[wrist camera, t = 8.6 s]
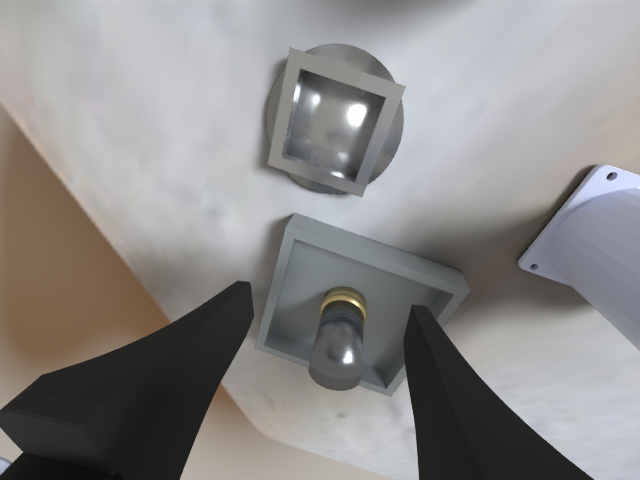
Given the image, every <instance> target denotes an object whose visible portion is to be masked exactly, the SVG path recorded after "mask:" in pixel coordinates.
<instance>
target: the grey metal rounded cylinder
mask: <svg viewBox="0 0 640 480" xmlns="http://www.w3.org/2000/svg"><path fill="white" fill-rule="evenodd" d="M319 315H320V322H319V326H318V330H317V334H316V338H315V342H314V347H313V351H312V355H311V359H310V363H309V368H308V370H309V374H310V376H311V378H312V379H313V380H314V381H315V382H316V383H318V384H319V385H321V386H323V387H325V388H327V389H331V390H337V391H344V390H349V389H352V388H354V387H356V386H357V385H358V384H359V383H360V381H361V376H362V354H363V332H364V325H365V324H366V319H367V302H366V299H365V297H364V296H363V295H362V294H361V293H360V292H359V291H357V290H356V289H353V288H351V287H346V286H339V287H334V288H332V289H330V290H329V291H327V292H326V293H325V295H324V297H323V300H322V304H321V308H320V313H319Z"/></svg>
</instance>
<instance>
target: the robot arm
mask: <svg viewBox="0 0 640 480" xmlns="http://www.w3.org/2000/svg"><path fill="white" fill-rule="evenodd" d="M610 173H612V176H611V177H610V178H608V179H607V175H608V174H610ZM532 264H535V266H533V267H530V266H531V265H532ZM518 266H519V267H520V268H521V269H523V270H525V271H528V272H531V273H534V274H537V275H540V276H543V277H545V278H548V279H551V280H554V281H557V282H560V283H563V284H566V285H569V286H571V287H573V288H574V289H575V290H576V291H577V292H578V293H579V294H580V295H582V296H583V297H584V298H585V299H586V300H587V301H588V302H589V303H590V304H591V305H592V306H593V307H594V308H595V309H596V310H597V311H598V312H599V313H600V314H602V315H603V316H604V317H605V318H606V319H607V320H608V321H609V322H610V323H611V324H612V325H613V326H614V327H615V328H616V329H617V330H618V331H619V332H621V333H622V334H623V335H624V336H625V337H626V338H627V339H628V340H629V341H630V342H631V343H632V344H633V345H634V346H635V347H636V348H637V349H638V350H639V351H640V175H637V174H634V173H631V172H628V171H625V170H622V169H619V168H616V167H613V166H610V165H606V164H601V165H598V166H596V167H594V168H593V169H592V170H591V171H590V173H589V174H588V175H587V176H586V178H585V179H584V180H583V181H582V183H581V184H580V185H579V186H578V188H577V189H576V190H575V191H574V192H573V194H572V195H571V196H570V197H569V199H568V200H567V201H566V202H565V204H564V205H563V206H562V207H561V209H560V210H559V211H558V212H557V213H556V215H555V216H554V217H553V218H552V220H551V221H550V222H549V223H548V225H547V226H546V227H545V228H544V230H543V231H542V232H541V233H540V234H539V236H538V237H537V238H536V239H535V241H534V242H533V243H532V244H531V246H530V247H529V248H528V249H527V251H526V252H525V253H524V254H523V255H522V257H521V258H520V259H519V261H518ZM253 317H254V311H253V302H252V293H251V285H250V282H244V281H237V282H235V283H233V284H232V285H230V286H229V287H228V288H226V289H225V290H223V291H222V292H220V293H219V294H217V295H216V296H214V297H213V298H211V299H210V300H208V301H207V302H205V303H204V304H202V305H201V306H199V307H198V308H196V309H195V310H193V311H191V312H190V313H188V314H186V315H185V316H183V317H182V318H180V319H178V320H177V321H175V322H173V323H171V324H169V325H168V326H166V327H164V328H162V329H160V330H158V331H156V332H154V333H152V334H150V335H148V336H146V337H144V338H141V339H139V340H137V341H135V342H132V343H130V344H128V345H126V346H124V347H121V348H119V349H116V350H114V351H111V352H109V353H106V354H104V355H101V356H98V357H96V358H93V359H91V360H87V361H85V362H82V363H79V364H75V365H72V366H69V367H66V368H63V369H60V370H57V371H53V372H50V373H47V374H43V375H42V376H40V377H39V378H38V379H37V380H36V381H34V382H33V383H32V384H31V385H30V386H28V387H27V388H26V389H25V390H24V391H22V392H21V393H20V394H19V395H18V396H17V397H15V398H14V399H13V400H12V401H10V402H9V403H8V404H7V405H6V406H4V407H3V408H2V409H1V410H0V427H1V428H2V430H3V431H4V432H5V433H6V434H7V435H8V436H9V437H10V439H11V440H12V441H13V442H14V443H15V444H16V445H17V446H18V447H19V448H20V449H21V450H22V451H23V453H22V454H21V455H20V456H19V457H18V458H17V459H16V460H15V461H14V462H13V463H12V462H11V461H9V460H7V459H5V458H3V457H0V480H180V477H181V474H182V472H183V469H184V466H185V464H186V461H187V458H188V456H189V454H190V451H191V448H192V446H193V443H194V441H195V438H196V436H197V433H198V431H199V429H200V426H201V424H202V422H203V419H204V416H205V414H206V412H207V410H208V407H209V405H210V403H211V401H212V398H213V396H214V394H215V392H216V390H217V388H218V386H219V384H220V382H221V380H222V378H223V376H224V375H225V373H226V371H227V369H228V368H229V366H230V364H231V362H232V360H233V359H234V357H235V355H236V353H237V352H238V350H239V348H240V346H241V344H242V343H243V341H244V339H245V337H246V335H247V333H248V330H249V328H250V325H251V323H252V320H253ZM403 341H404V361H405V368H406V374H407V380H408V386H409V392H410V397H411V403H412V409H413V415H414V422H415V429H416V441H417V454H418V468H419V480H594V479H593V478H591V477H590V476H589V475H587V474H586V473H585V472H584V471H582V470H581V469H580V468H578V467H577V466H576V465H575V464H573V463H572V462H571V461H569V460H568V459H567V458H566V457H564V456H563V455H562V454H561V453H560V452H558V451H557V450H556V449H555V448H554V447H553V446H551V445H550V444H549V443H548V442H547V441H545V440H544V439H543V438H542V437H541V436H540V435H538V434H537V433H536V432H535V431H534V430H533V429H532V428H531V427H529V426H528V425H527V424H526V423H525V422H524V421H523V420H522V419H521V418H520V417H519V416H518V415H517V414H515V413H514V412H513V411H512V410H511V409H510V408H509V407H508V406H507V405H506V404H505V403H504V402H503V401H502V400H501V399H500V398H499V397H498V396H497V395H496V394H495V393H494V392H493V391H492V390H491V389H490V388H489V386H488V385H487V384H486V383H485V382H484V381H483V380H482V379H481V378H480V377H479V376H478V374H477V373H476V372H475V371H474V370H473V369H472V367H471V366H470V365H469V364H468V362H467V361H466V360H465V359H464V358H463V356H462V355H461V354H460V352H459V351H458V350H457V348H456V347H455V346H454V344H453V343H452V342H451V340H450V339H449V338H448V336H447V335H446V333H445V332H444V331H443V329H442V328H441V326H440V325H439V323H438V322H437V320H436V319H435V317H434V316H433V314H432V313H431V311H430V310H429V308H428V307H427V306H421V305H413V304H412V306H411V310H410V314H409V318H408V322H407V326H406V330H405V334H404V339H403Z"/></svg>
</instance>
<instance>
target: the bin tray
mask: <svg viewBox="0 0 640 480" xmlns="http://www.w3.org/2000/svg"><path fill="white" fill-rule="evenodd" d="M339 286H346V287H351V288H353V289H356V290H357V291H359V292H360V293H361V294H362V295H363V296H364V297H365V299H366V302H367V319H366V324H365V325H364V332H363V354H362V376H361V381H360V383H359V384H358V385H359V386H362V387H365V388H368V389H370V390H373V391H376V392H379V393H382V394H384V395H387V396H390V397H391V396H392V395H393V393H394V392H395V391H396V389H397V388H398V387H399V385H400V384H401V383H402V381H403V380H404V379H405V377H406V376H407V374H406V368H405V361H404V341H403V339H404V334H405V330H406V326H407V322H408V318H409V314H410V310H411V306H412V304H413V305H421V306H427V307H428V308H429V310H430V311H431V313H432V314H433V316H434V317H435V319H436V320H437V322H438V323H439V325H440V326H441V328H443V327H444V325H445V324H446V323H447V321H448V320H449V319H450V317H451V316H452V315H453V314H454V312H455V311H456V310H457V308H458V307H459V306H460V304H461V303H462V302H463V300H464V299H465V298H466V296H467V295H468V294H469V292H470V291H471V289H470V287H469V285H468V283H467V281H466V279H465V277H464V275H463V273H462V271H461V270H458V269H455V268H452V267H449V266H446V265H443V264H440V263H438V262H435V261H432V260H429V259H426V258H423V257H420V256H417V255H415V254H412V253H409V252H406V251H403V250H400V249H397V248H394V247H392V246H389V245H386V244H383V243H380V242H377V241H374V240H371V239H369V238H366V237H363V236H360V235H357V234H354V233H351V232H348V231H346V230H343V229H340V228H337V227H334V226H331V225H328V224H325V223H323V222H320V221H317V220H314V219H311V218H308V217H305V216H303V215H300V214H297V213H295V214H294V215H293V216H292V218H291V219H290V221H289V222H288V224H287V225H286V228H285V232H284V236H283V240H282V244H281V247H280V251H279V255H278V259H277V263H276V267H275V271H274V275H273V279H272V282H271V286H270V290H269V294H268V298H267V302H266V306H265V310H264V314H263V317H262V321H261V325H260V329H259V333H258V337H257V341H256V345H255V348H256V349H258V350H261V351H264V352H267V353H270V354H272V355H275V356H278V357H281V358H284V359H286V360H289V361H292V362H295V363H298V364H300V365H303V366H306V367H309V363H310V359H311V355H312V351H313V347H314V342H315V338H316V334H317V330H318V326H319V322H320V315H319V313H320V308H321V304H322V300H323V297H324V295H325V293H326V292H327V291H329V290H330V289H332V288H334V287H339Z"/></svg>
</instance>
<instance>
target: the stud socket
mask: <svg viewBox="0 0 640 480" xmlns="http://www.w3.org/2000/svg"><path fill="white" fill-rule="evenodd" d="M405 87H406V86H403V85H400V84H397V83H395V81H394V79H393V78H392V76H391V74H390V73H389V71H388V70H387V69H386V68H385V67H384V65H383V64H382V63H381V62H379V61H378V60H377V59H376V58H375V57H374V56H372V55H370V54H369V53H367V52H366V51H364V50H361V49H359V48H357V47H353V46H349V45H343V44H328V45H322V46H318V47H315V48H312V49H310V50H308V51H306V52H302V51H299V50H296V49H293V48H290V50H289V55H288V60H287V66H286V68H285V69H284V70H283V71H282V73H281V74H280V76H279V77H278V79H277V81H276V82H275V84H274V86H273V89H272V91H271V94H270V97H269V102H268V106H267V115H266V125H267V133H268V138H269V142H270V145H271V149H270V154H269V159H268V164H267V165H270V166H273V167H275V168H278V169H281V170H284V171H285V172H286V173H287V174H288V175H289V176H290V177H291V178H293V179H294V180H295V181H297V182H298V183H299V184H301V185H303V186H304V187H306V188H309V189H311V190H313V191H317V192H320V193H326V194H342V193H351V194H354V195H356V196H359V197H362V196H363V194H364V191H365V189H366V186H367V185H368V184H369V183H371V182H372V181H374V180H375V179H376V178H377V177H378V176H379V175H381V174H382V173H383V171H384V170H385V169H386V168H387V167H388V165H389V164H390V162H391V161H392V159H393V157H394V155H395V153H396V151H397V149H398V146H399V144H400V141H401V136H402V132H403V122H404V117H403V106H402V100H401V97H402V95H403V92H404V90H405Z"/></svg>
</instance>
